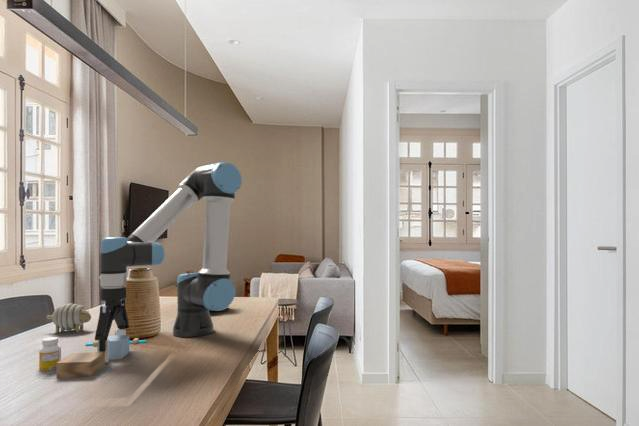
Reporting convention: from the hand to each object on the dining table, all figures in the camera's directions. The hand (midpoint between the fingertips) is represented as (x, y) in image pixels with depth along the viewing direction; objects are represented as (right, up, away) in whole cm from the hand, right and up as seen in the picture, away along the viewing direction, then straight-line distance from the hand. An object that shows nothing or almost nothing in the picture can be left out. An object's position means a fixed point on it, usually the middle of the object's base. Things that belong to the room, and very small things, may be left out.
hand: (112, 355), depth 143 cm
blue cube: (0, -2, 0) cm, 2 cm away
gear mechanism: (-8, -3, +21) cm, 22 cm away
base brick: (-2, 0, -15) cm, 15 cm away
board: (-2, -1, -15) cm, 15 cm away
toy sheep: (-35, -3, +39) cm, 53 cm away
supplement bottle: (-13, -2, -11) cm, 17 cm away
